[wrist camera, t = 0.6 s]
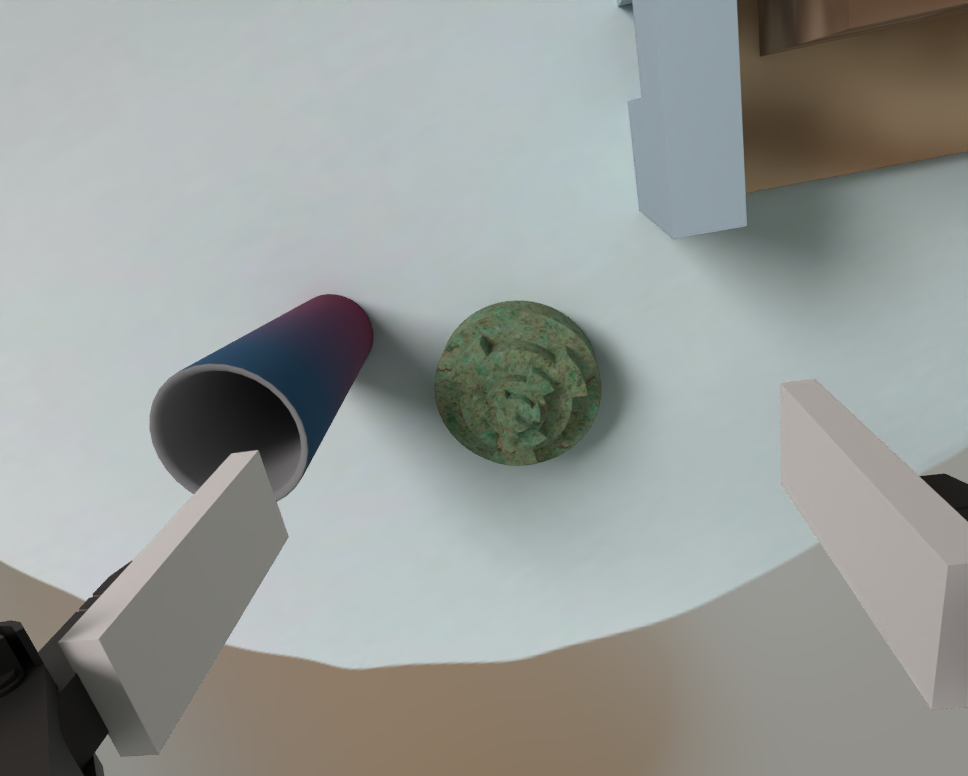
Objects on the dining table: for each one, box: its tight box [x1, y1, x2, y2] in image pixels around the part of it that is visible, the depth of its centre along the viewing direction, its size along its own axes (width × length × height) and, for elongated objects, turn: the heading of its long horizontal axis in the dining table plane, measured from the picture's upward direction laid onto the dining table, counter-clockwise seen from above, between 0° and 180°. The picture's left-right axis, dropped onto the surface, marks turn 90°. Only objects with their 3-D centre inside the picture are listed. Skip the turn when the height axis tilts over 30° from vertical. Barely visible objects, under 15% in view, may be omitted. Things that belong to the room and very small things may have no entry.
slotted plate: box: [617, 0, 747, 239], centre depth 28 cm, size 16×3×10 cm, turn 11°
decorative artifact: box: [435, 301, 601, 466], centre depth 38 cm, size 10×7×10 cm
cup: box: [150, 294, 373, 502], centre depth 34 cm, size 7×7×15 cm
